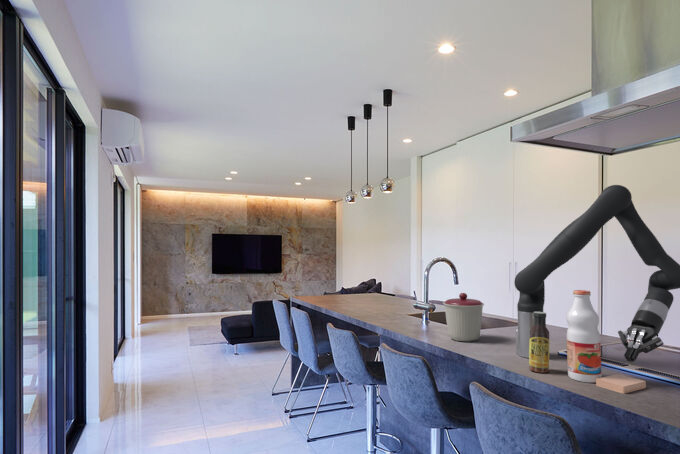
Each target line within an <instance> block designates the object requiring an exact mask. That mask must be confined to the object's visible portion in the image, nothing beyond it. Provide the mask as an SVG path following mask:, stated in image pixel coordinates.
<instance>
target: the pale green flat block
mask: <svg viewBox="0 0 680 454" xmlns="http://www.w3.org/2000/svg"><path fill="white" fill-rule="evenodd" d="M595 386H597V387H600V388H603V389H606V390H610V391H613V392H616V393H620V394H623V395H624V394H625V395H626V394H628V393H632V392H635V391H639V390H643V389H646V388H647V383H646V380H643V379H638V378H636V377H631V376H628V375H624V374H621V373H617V374H612V375H608V376H607V375H606V376H603V377H601V378H597V379H596V382H595Z"/></svg>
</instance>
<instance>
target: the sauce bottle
mask: <svg viewBox="0 0 680 454" xmlns="http://www.w3.org/2000/svg"><path fill="white" fill-rule="evenodd" d="M533 316H534V323H533V324H534V325H533V326H532V328H531V330H530V339H529V358H528V359H529V360H528V365H529V370H530V371H532V372H535V373H538V374H539V373H543V374H546V373H548V372H550V371H549V369H550V331H549V329H548V328H547V324H546V323H547V322H546V321H547V312H544V311H543V312H533Z"/></svg>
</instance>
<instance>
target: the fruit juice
mask: <svg viewBox="0 0 680 454" xmlns="http://www.w3.org/2000/svg"><path fill="white" fill-rule="evenodd" d="M572 295H573V297H574V299H573V302H572V304H571V307H570V309H569V310H568V311H567V313H566V323H567V325H568V328H567V330H566V356H567V357H566V358H567V361H566V362H567V375H568V378H569V379H572V380H574V381H576V382H577V381H579V382H583V383H590V384H591V383H592V384H593V383H595V384H596V379H597V378H602V354H601V349H602V348H601V334H600V331H599V328H598V327H599V324H600V317H599V314H598V313H597V312H596V311H595V309H594V307H593V304H592V302H591V298H590V297H591V295H592V294H591V291H590V290H585V289H573V290H572Z"/></svg>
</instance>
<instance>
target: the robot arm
mask: <svg viewBox="0 0 680 454" xmlns="http://www.w3.org/2000/svg"><path fill="white" fill-rule="evenodd" d="M613 218H615V219H616V220H617V222H618V223H619V224H620V225H621V227H622V228H623V230H624V231H625V233H626V235H627V238H628V239H629V240H630V241H629V242H630V243H631V244H632V246H633V248H634V250H635V251H636V252H637V254H638V255H639V257H640V259H641V260H642V262H643V263H644V264H645V265H646V266H648V267H657V268H658V269H659V270H655V271H653V273H652V274H651V275H650V276H649V279H648V285H647V286H648V287H647V294H646V295H645V297H644V298H643V301H642V302H641V303H640V305H639V307H638V308H637V310H636V312H635V315H634V316H633V318H632V320H631V324H630V326H629V327H628V328H626V330H624V331H623V330H618V331H617V333H618V336H619V339H620V341H621V343H622V345H623V346H624V348H625V349H626V351H625V353H624V355H623V356H624V358H625V360H626V361H627V362H629V363H634V362H635V361H637V359H638V357H639V355H640V354H641V353H644V354H648V353H650V352H652V351H654V350H656V349H658V348H660V347H662V346H664V342H663V340H662V339H661V337H659V334H660V333H661V330H662V327H663V325H664V324H665V322H666V321H667V317H668V313H669V311H670V308H671V307H672V305H673V302H674V294H673V293H672V292H670V291H673V290H677V289H680V264H679V263H678V262H677V261H676V260H675V259H674V258H673V257H672V256H670V255H669V254H668V253H667V252H666V251H665V249H664V247H663V246H662V244H661V243H660V241H659V240H658V239H657V237H656V236H655V234H654V233H653V232H652V231H651V229H650V228H649V227H648V225H646V224H647V223H645V222H644V221H643V219H642V217H641V216H640V215H639V213H638V211H637V209H636V208H635V205H634V202H633V200H632V193H631V191H630V190H629V189H628V188H627V187H626V186H624V185H622V184H612V185H609V186H606V187H605V188H604V189H603V190H602V191H601V192H600V195H598V197H597V198H596V199H595V201H593V203H592V204H591V205H590V207H588V208H587V210H586V211H584V212H583V213H582V214H581V215H580V216H579V217H577V218H576V219H574V220H573V221H572V222H570V224H568V225H567V226H566V227H565V228H563V230H561V231H560V233H558V234H557V236H555V237H554V238H553V240H552V241H550V243H548V245H547V246H546V247H545V248H544V249H543V250H542V252H541V253H540V254H539V255H538V256H537V257H536V258H535V259H534V260H533V261H532V262H530V264H528V265H526V266H525V267H524V268H523V269H521V270H520V271H519V272H518V273H517V274H516V275H515V277H514V287H515V289H516V290H517V291H518V292H519V299H518V302H517V304H516V305H517V306H516V307H517V308H516V309H517V310H516V311H517V328H516V329H515V344H516V345H515V346H516V347H515V348H516V349H515V351H516V353H515V354H517V355H518V356H520V357H522V358H526V359H527V358H528V359H529V339H530V330H531V328H532V326H533V325H534V324H533V323H534V316H533V312H544V306H545V302H546V301H545V297H546V295H545V294H546V293H545V291H546V289H545V287H546V286H545V280H547V278H548V277H549V276H550V275H551V274H552V273H554V271H556V270H557V269H558V268H560V267H561V266H563V265H565V264H566V263H567V262H569V261H571V260H572V259H573V258H574V257H575V256H576V255H578V254H579V253H580V252H581V251H582V250H583V249H584V248H585V247H586V246H587V245H588V244H589V243H590V242H591V241H592V240H593V238H594V237H595V236H596V235H597V234H598V232H599V231H600V230H601V229H602V227H603V226H605V225H606V224H607V223H608V222H609V221H611V220H612V219H613ZM628 337H629V339H628Z"/></svg>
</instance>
